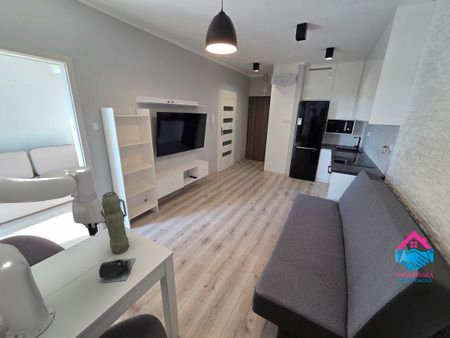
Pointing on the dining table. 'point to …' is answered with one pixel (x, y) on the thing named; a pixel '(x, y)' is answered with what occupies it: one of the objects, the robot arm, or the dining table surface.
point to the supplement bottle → (114, 268)
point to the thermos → (115, 222)
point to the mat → (123, 276)
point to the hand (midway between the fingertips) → (94, 233)
